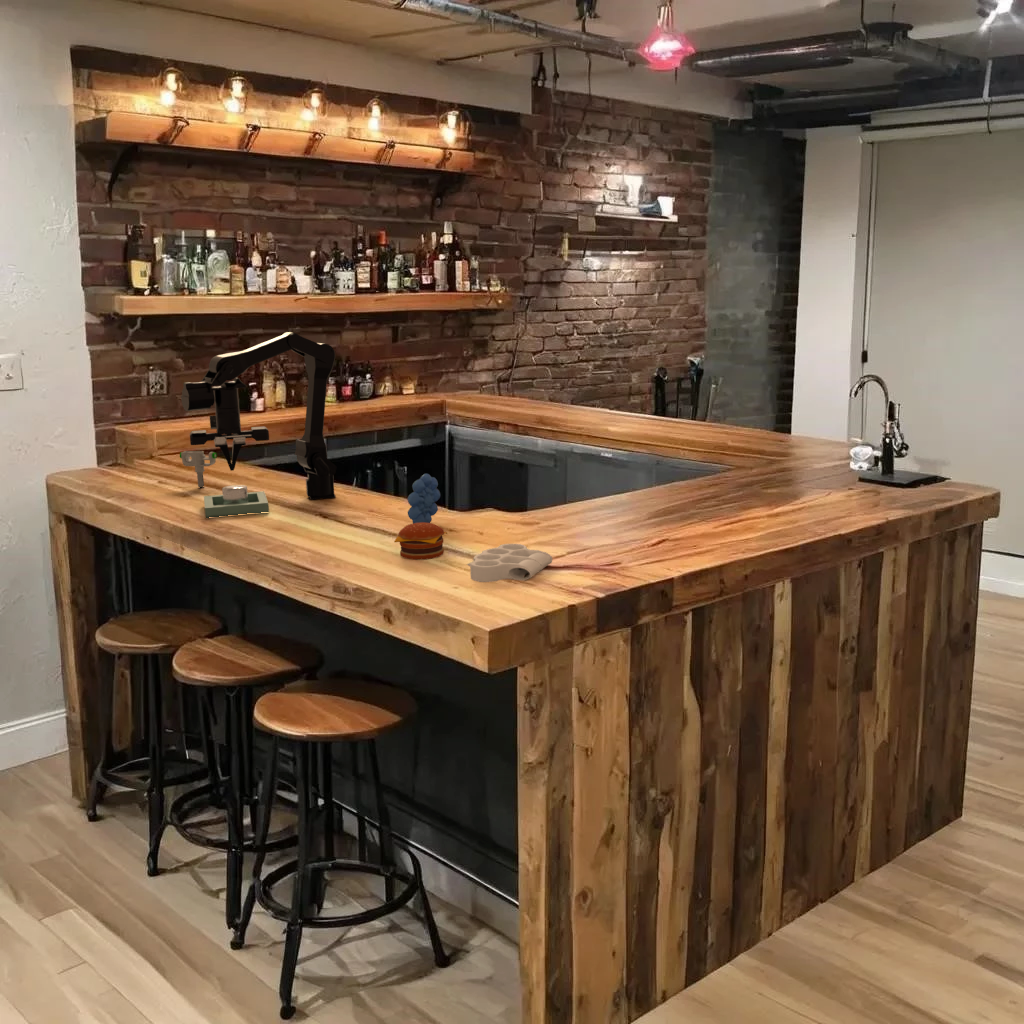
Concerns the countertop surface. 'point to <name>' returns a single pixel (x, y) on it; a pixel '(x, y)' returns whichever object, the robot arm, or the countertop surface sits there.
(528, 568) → the multi-hole tube bracket
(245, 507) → the socket frame
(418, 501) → the grapes
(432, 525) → the hamburger
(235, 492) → the silver rounded cylinder
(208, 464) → the mechanical component
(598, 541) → the countertop surface
